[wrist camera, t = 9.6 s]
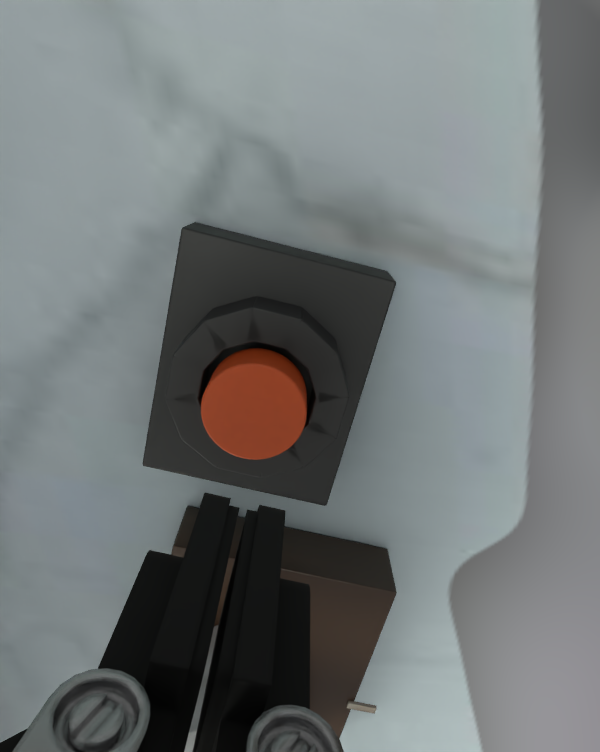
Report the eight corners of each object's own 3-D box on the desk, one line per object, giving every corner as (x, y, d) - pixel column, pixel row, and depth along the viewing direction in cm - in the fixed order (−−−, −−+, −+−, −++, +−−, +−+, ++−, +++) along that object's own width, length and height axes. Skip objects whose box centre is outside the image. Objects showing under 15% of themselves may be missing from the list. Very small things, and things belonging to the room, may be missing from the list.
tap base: (334, 744, 32) (337, 803, 29) (126, 705, 31) (106, 762, 28) (409, 553, 27) (421, 600, 24) (164, 500, 26) (146, 542, 23)
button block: (324, 479, 25) (328, 532, 22) (155, 441, 25) (128, 489, 21) (388, 271, 22) (405, 292, 18) (193, 221, 21) (169, 232, 18)
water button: (293, 446, 21) (292, 470, 19) (201, 425, 21) (191, 448, 19) (317, 360, 20) (318, 377, 18) (218, 336, 19) (211, 352, 18)
